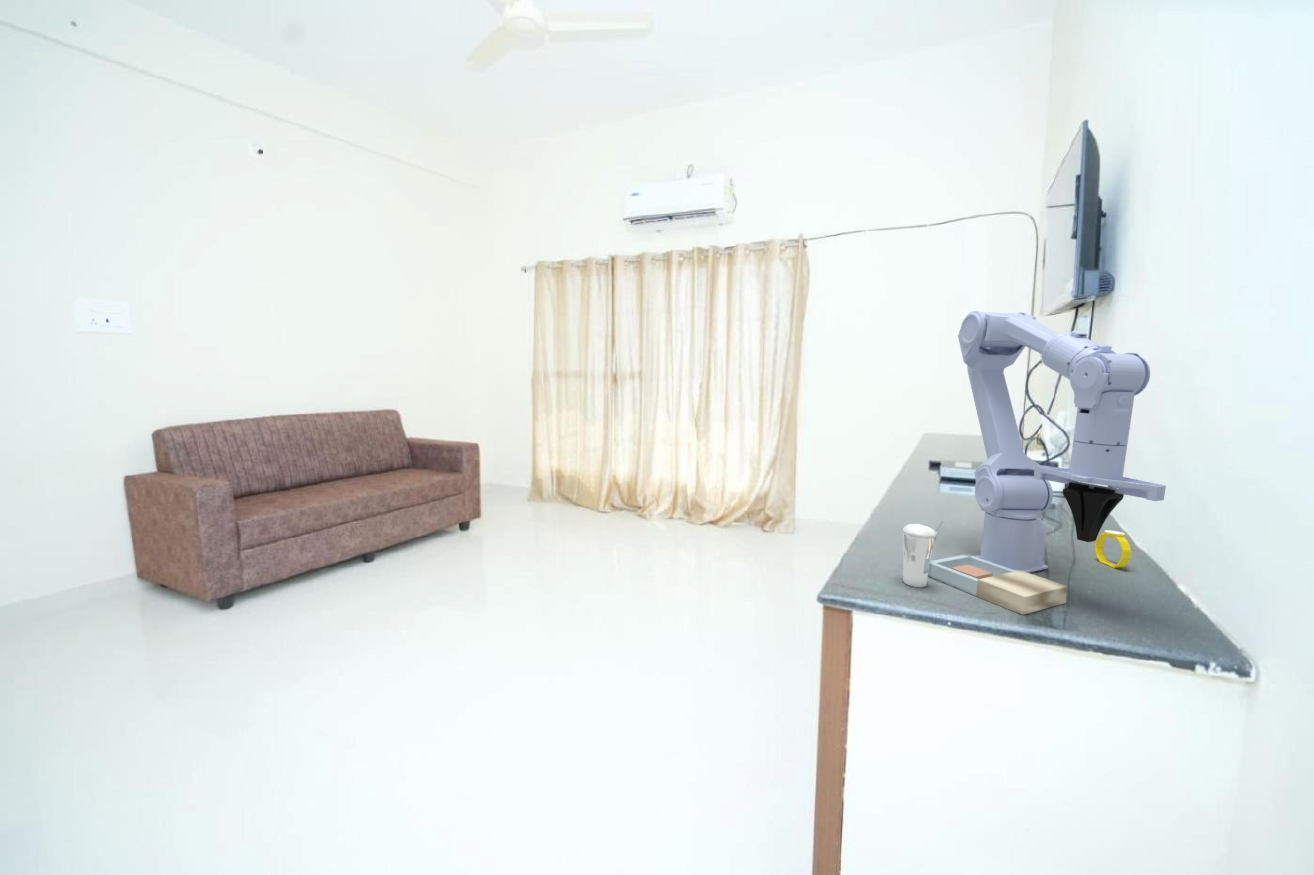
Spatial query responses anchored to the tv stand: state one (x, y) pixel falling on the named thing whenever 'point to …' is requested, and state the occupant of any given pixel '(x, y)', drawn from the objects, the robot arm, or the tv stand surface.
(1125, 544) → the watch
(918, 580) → the milkshake
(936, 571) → the box
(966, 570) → the tile
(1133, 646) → the tv stand surface
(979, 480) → the robot arm
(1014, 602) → the beige wooden block
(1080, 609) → the tv stand surface
